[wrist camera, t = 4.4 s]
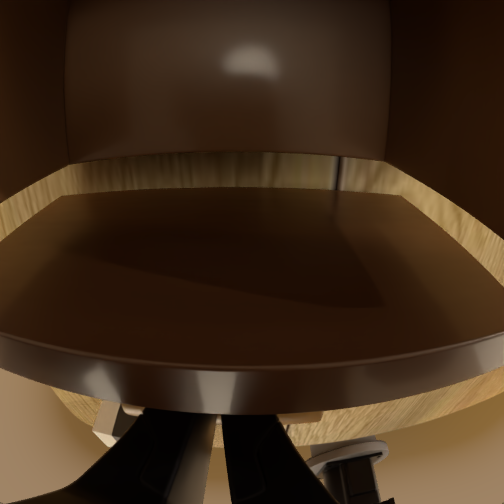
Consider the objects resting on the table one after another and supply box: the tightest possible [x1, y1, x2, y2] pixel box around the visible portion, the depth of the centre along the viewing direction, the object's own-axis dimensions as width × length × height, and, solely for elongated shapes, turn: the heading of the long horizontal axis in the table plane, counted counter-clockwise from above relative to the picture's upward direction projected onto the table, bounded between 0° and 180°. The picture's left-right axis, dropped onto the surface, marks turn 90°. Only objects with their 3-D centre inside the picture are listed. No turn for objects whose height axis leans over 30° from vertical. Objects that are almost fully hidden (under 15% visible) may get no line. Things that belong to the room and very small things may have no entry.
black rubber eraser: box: [92, 400, 138, 447], centre depth 17 cm, size 3×8×3 cm, turn 89°
